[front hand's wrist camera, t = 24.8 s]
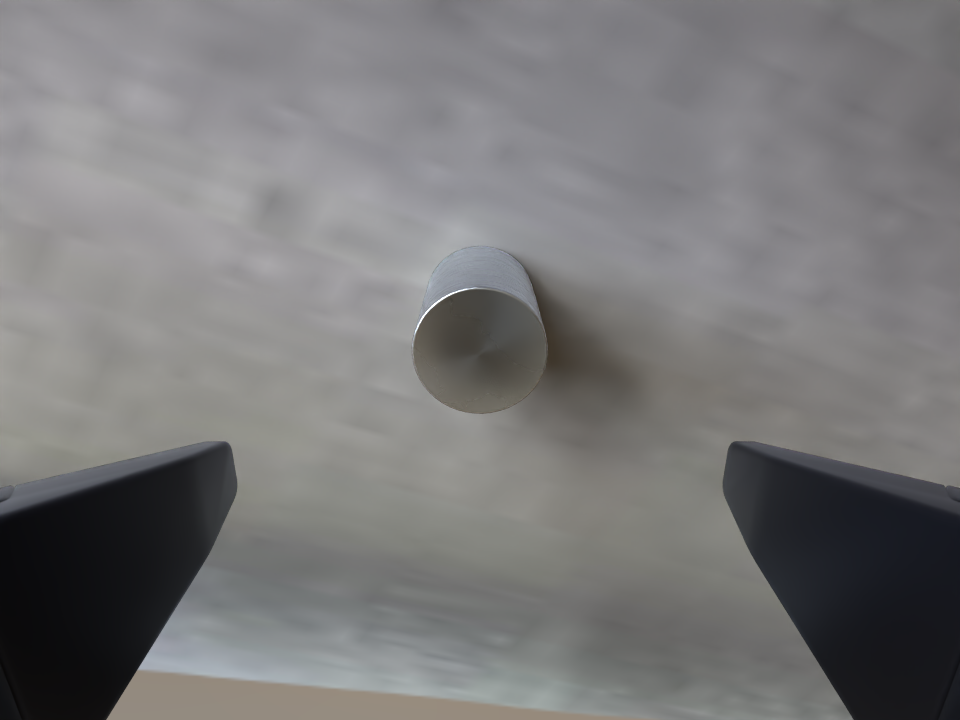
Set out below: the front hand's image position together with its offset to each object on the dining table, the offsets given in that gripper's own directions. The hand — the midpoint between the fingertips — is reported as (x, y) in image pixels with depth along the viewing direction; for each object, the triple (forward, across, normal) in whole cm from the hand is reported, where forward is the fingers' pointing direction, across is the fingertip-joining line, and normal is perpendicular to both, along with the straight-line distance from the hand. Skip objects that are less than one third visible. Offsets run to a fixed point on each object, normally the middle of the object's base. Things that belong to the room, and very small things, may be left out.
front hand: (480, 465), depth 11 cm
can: (+10, 0, 0) cm, 10 cm away
